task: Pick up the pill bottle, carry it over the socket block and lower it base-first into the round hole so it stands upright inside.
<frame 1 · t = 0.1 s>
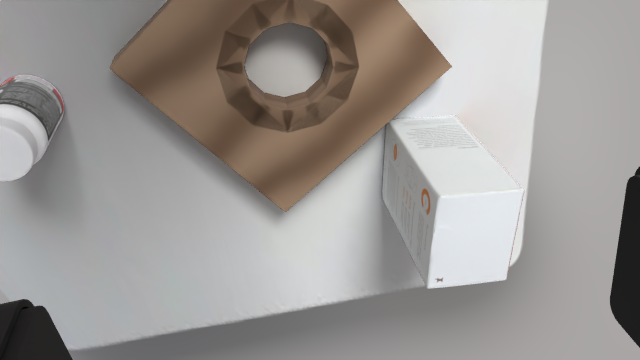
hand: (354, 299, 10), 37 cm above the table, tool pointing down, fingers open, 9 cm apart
small box: (417, 155, 53), on the table
socket block: (285, 56, 46), on the table
pill bottle: (32, 102, 45), on the table
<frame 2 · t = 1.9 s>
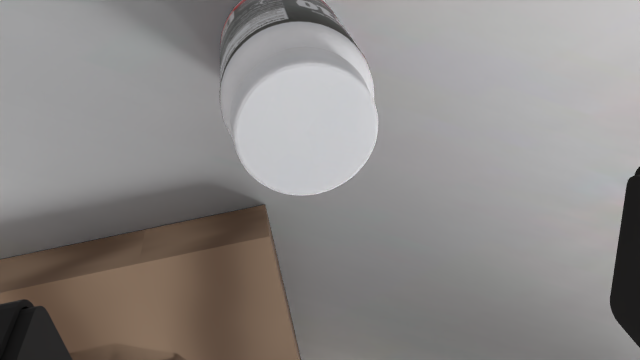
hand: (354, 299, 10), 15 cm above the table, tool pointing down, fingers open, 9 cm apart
pill bottle: (280, 43, 23), on the table
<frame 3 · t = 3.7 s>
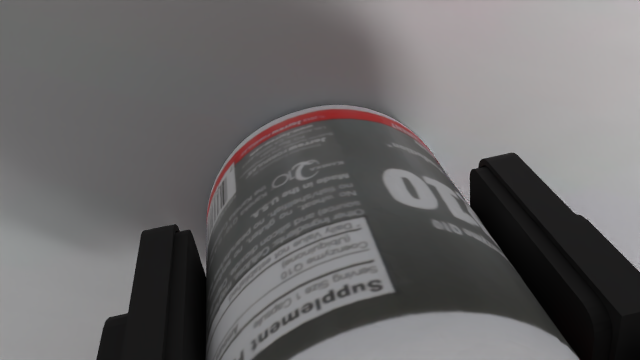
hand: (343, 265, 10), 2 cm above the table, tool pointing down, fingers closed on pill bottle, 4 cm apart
pill bottle: (322, 201, 12), on the table, touching gripper
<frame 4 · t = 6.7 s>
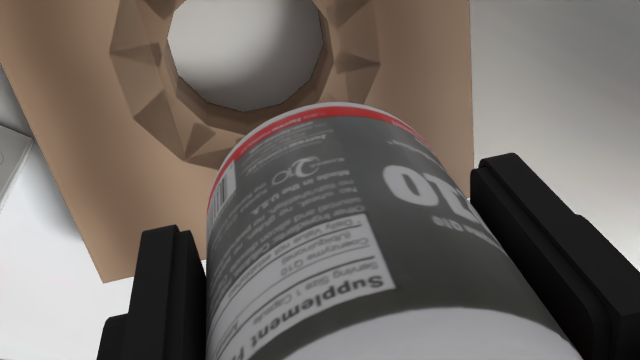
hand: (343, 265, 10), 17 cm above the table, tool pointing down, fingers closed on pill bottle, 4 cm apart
socket block: (246, 40, 25), on the table
pill bottle: (322, 198, 12), point 15 cm above the table, touching gripper
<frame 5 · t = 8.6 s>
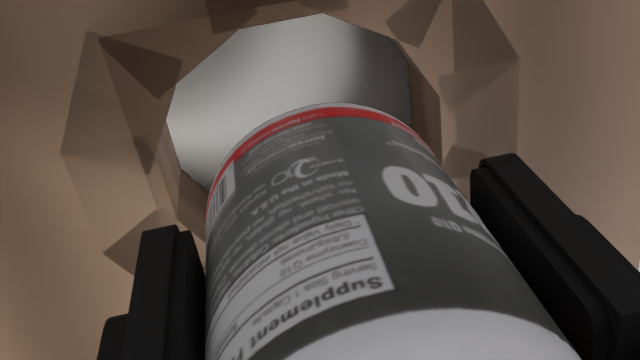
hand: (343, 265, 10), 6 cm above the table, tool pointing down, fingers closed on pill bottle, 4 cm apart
socket block: (292, 116, 16), on the table
pill bottle: (322, 199, 12), point 4 cm above the table, touching gripper
when the fingers open (3 cm above the table, at t = 9.9 s): pill bottle drops 1 cm, resting in socket block.
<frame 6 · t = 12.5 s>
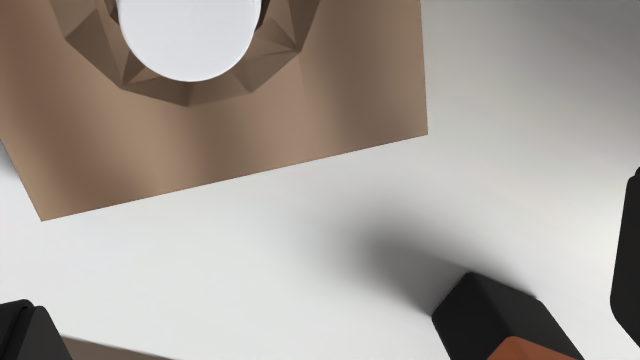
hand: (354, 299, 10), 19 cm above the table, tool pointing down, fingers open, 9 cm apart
battery: (484, 305, 38), on the table
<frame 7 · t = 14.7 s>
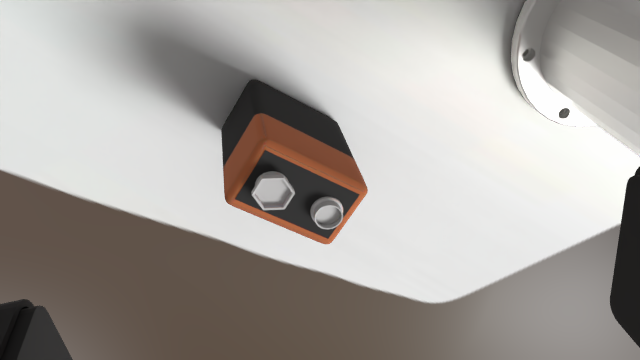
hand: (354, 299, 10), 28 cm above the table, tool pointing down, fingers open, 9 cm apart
battery: (280, 124, 39), on the table
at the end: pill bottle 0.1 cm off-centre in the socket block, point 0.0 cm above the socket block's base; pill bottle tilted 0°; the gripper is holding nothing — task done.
